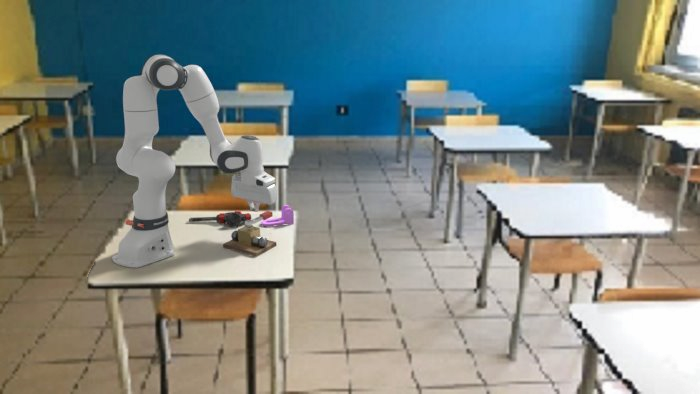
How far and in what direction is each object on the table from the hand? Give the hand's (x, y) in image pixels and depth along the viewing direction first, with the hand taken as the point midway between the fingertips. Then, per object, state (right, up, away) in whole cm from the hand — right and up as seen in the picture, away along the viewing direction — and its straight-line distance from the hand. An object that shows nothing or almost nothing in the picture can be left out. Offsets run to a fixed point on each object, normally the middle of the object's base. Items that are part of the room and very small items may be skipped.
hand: (254, 210), depth 237 cm
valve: (-17, -5, +18) cm, 25 cm away
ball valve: (0, -12, -9) cm, 15 cm away
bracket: (+7, -6, +15) cm, 18 cm away
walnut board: (-1, -13, -9) cm, 16 cm away
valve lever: (+2, -4, -6) cm, 8 cm away
